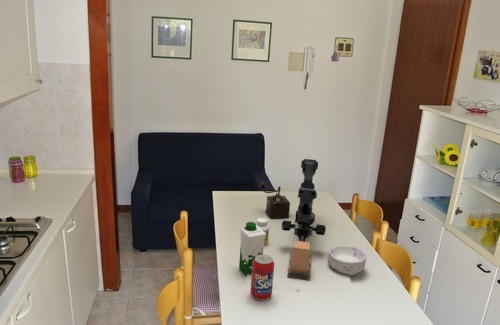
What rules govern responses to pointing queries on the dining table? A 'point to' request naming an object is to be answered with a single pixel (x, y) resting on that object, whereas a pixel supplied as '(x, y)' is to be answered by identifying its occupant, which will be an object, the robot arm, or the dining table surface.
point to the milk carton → (250, 246)
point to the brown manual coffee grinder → (276, 204)
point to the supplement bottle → (263, 228)
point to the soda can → (262, 277)
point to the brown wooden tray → (296, 274)
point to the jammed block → (300, 257)
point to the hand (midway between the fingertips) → (301, 246)
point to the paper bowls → (346, 259)
